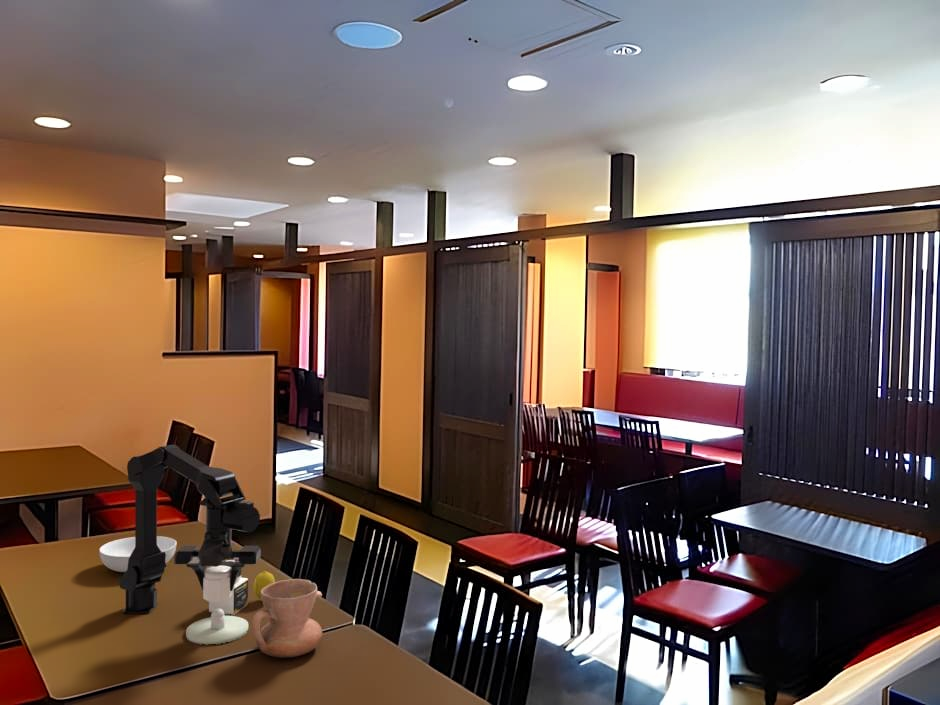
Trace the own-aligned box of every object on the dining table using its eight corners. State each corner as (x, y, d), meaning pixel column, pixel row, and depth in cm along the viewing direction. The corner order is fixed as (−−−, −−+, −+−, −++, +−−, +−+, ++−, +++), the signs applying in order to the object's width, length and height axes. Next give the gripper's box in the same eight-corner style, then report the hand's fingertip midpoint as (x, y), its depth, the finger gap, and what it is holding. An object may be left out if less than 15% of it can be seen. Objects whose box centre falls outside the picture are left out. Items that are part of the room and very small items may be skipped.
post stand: (177, 645, 164) (177, 621, 163) (196, 619, 178) (196, 597, 177) (240, 644, 165) (240, 620, 165) (254, 619, 179) (254, 597, 178)
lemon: (279, 598, 192) (279, 569, 192) (267, 606, 187) (267, 575, 187) (261, 595, 194) (262, 566, 194) (249, 603, 189) (249, 573, 189)
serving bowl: (191, 565, 217) (191, 543, 216) (125, 586, 199) (126, 561, 199) (149, 552, 228) (149, 530, 227) (84, 570, 210) (84, 547, 210)
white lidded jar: (200, 601, 168) (201, 574, 167) (208, 592, 174) (208, 565, 173) (227, 601, 168) (227, 574, 168) (234, 592, 174) (234, 565, 174)
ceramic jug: (302, 628, 174) (301, 570, 174) (339, 646, 165) (339, 585, 164) (234, 654, 161) (233, 591, 160) (270, 675, 151) (270, 609, 150)
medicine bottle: (234, 615, 181) (234, 568, 180) (208, 612, 182) (208, 565, 182) (248, 604, 188) (248, 559, 187) (223, 602, 189) (223, 557, 189)
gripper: (166, 535, 161) (165, 603, 162) (251, 535, 163) (250, 603, 163) (182, 521, 173) (181, 585, 173) (261, 522, 174) (260, 585, 175)
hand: (217, 590), depth 171 cm, fingers closed on white lidded jar, 6 cm apart
